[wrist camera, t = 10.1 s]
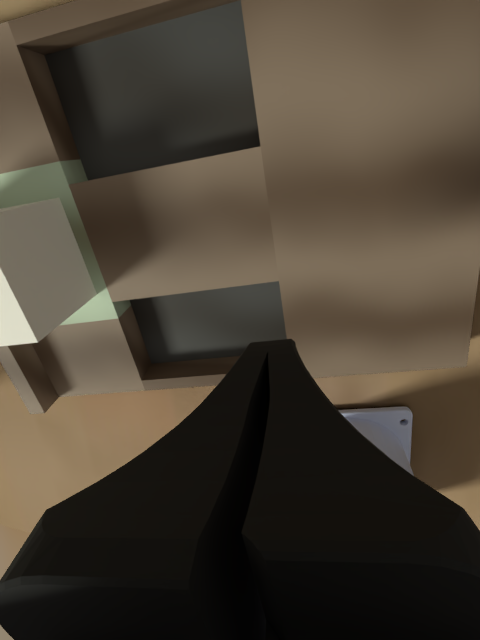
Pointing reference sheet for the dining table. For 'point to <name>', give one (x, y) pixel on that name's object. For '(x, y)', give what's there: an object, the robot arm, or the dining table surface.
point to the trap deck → (248, 184)
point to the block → (39, 272)
